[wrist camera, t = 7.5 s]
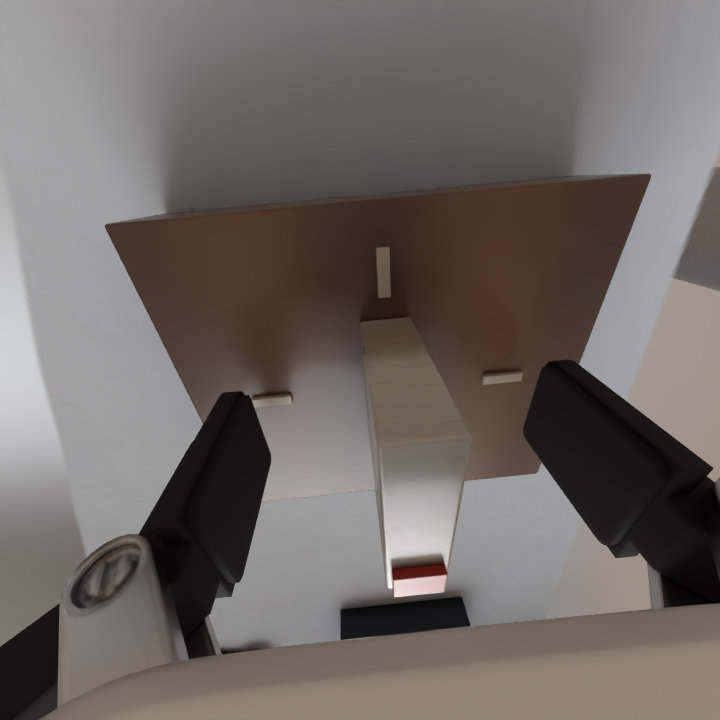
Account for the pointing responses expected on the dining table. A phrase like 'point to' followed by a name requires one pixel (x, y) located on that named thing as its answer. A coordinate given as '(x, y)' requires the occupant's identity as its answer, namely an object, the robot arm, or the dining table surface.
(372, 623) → the button block
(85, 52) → the dining table surface
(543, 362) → the panel
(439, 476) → the red-tipped white slab
